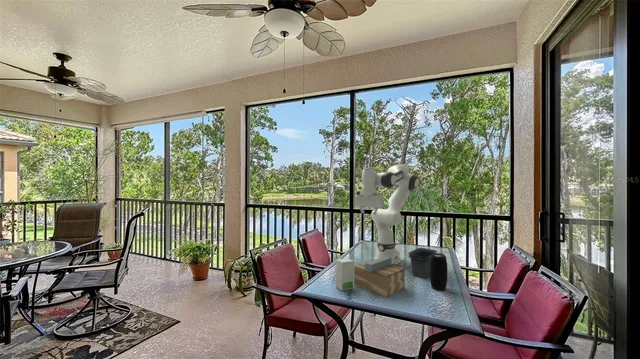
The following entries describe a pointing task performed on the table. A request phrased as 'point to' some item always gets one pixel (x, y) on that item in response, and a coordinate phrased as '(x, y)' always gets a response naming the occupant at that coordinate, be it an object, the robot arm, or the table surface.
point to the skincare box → (344, 274)
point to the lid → (382, 270)
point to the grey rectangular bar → (377, 264)
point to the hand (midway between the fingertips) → (368, 214)
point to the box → (379, 282)
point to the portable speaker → (438, 271)
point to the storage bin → (421, 261)
